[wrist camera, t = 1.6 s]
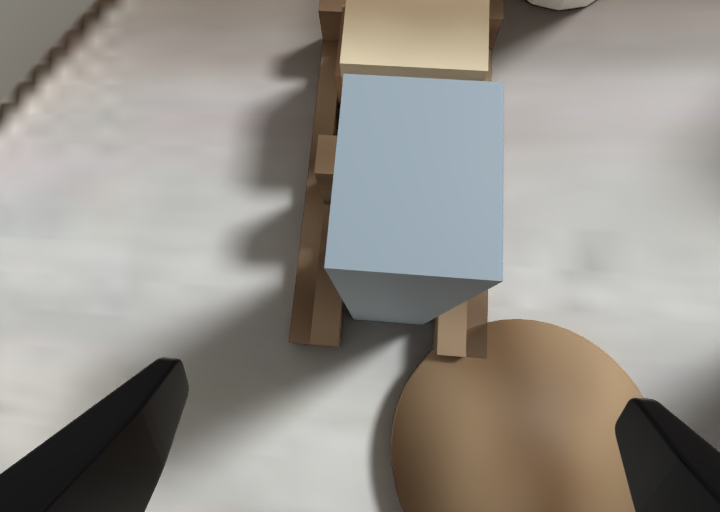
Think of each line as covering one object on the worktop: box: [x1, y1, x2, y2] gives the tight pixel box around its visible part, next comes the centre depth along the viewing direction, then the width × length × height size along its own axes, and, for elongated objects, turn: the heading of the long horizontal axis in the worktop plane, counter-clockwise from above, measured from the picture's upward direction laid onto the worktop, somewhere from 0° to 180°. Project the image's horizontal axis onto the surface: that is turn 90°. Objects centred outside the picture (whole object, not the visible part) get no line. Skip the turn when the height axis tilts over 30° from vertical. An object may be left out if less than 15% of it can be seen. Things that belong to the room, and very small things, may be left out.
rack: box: [289, 0, 504, 359], centre depth 19 cm, size 16×9×5 cm, turn 175°
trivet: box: [391, 319, 643, 512], centre depth 18 cm, size 11×11×1 cm
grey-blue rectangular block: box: [324, 74, 504, 325], centre depth 14 cm, size 4×3×12 cm
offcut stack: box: [335, 0, 490, 106], centre depth 20 cm, size 4×6×6 cm
